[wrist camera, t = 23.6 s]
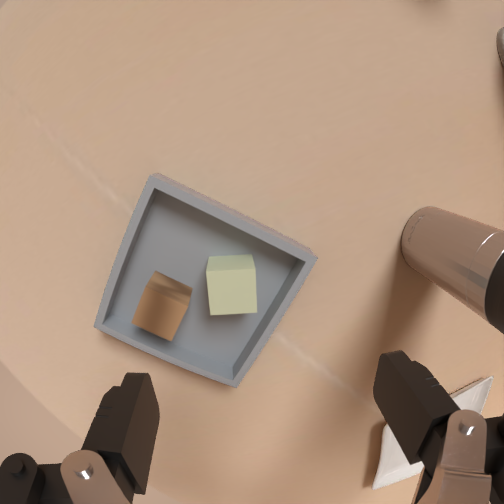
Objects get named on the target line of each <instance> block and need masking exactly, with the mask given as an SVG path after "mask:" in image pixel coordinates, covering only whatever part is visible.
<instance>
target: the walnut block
mask: <svg viewBox="0 0 504 504" xmlns="http://www.w3.org/2000/svg"><path fill="white" fill-rule="evenodd" d="M192 289H193V288H191V287H189V286H187V285H185V284H183V283H181V282H179V281H176V280H174V279H172V278H170V277H168V276H166V275H164V274H162V273H160V272H158V271H155V272H154V273H153V275H152V277H151V278H150V280H149V282H148V283H147V285H146V286H145V289H144V291H143V294H142V296H141V299H140V301H139V304H138V306H137V309H136V312H135V314H134V317H133V319H132V322H131V323H132V324H134V325H137V326H139V327H141V328H143V329H145V330H147V331H149V332H152V333H154V334H156V335H158V336H160V337H163V338H165V339H167V340H169V341H172V339H173V337H174V335H175V333H176V331H177V328H178V326H179V324H180V322H181V320H182V318H183V316H184V314H185V312H186V310H187V308H188V305H189V301H190V297H191V293H192Z"/></svg>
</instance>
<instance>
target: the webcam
mask: <svg viewBox="0 0 504 504" xmlns="http://www.w3.org/2000/svg"><path fill="white" fill-rule="evenodd" d="M497 47H498V52H499V56H500V59H501V61H502V64H503V66H504V27H503V28H501V29H500V30H499V31H498V34H497Z"/></svg>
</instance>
